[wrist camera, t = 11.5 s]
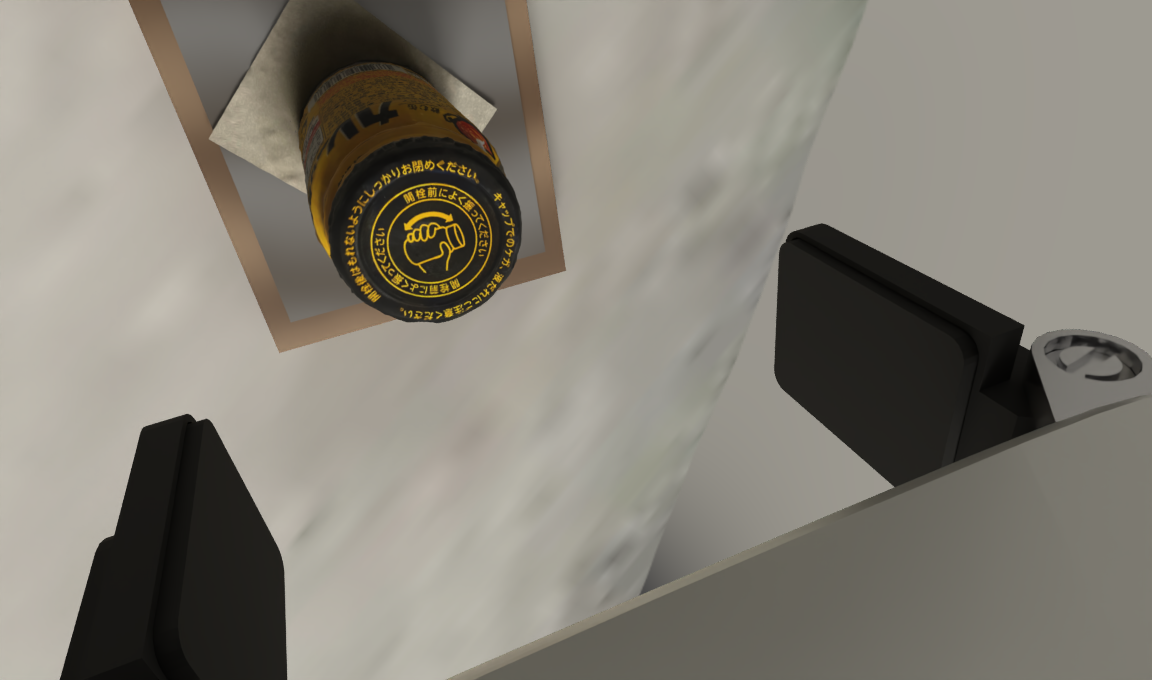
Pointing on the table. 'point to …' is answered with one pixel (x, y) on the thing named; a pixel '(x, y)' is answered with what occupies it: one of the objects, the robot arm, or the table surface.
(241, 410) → the table surface
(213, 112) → the tray
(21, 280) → the table surface
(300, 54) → the condiment
